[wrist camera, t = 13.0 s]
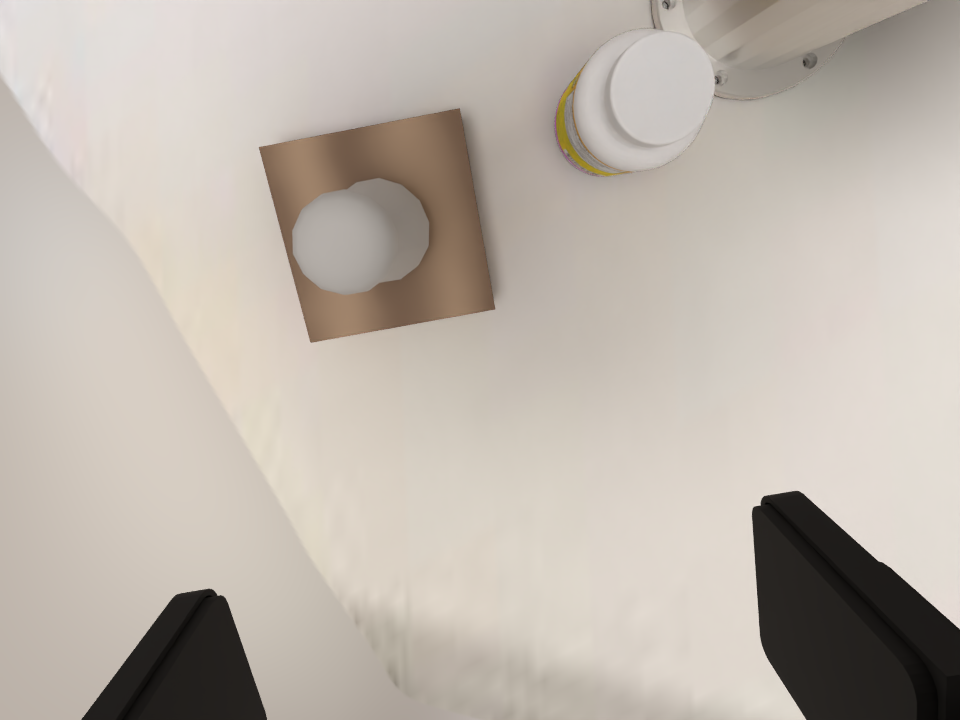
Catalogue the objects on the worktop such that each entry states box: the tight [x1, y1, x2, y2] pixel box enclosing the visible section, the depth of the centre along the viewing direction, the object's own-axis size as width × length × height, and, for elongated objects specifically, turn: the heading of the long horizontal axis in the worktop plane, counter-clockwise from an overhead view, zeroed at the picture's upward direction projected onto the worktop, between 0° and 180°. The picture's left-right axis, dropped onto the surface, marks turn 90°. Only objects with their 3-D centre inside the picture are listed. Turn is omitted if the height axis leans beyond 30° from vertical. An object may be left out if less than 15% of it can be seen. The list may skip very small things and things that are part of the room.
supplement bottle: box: [554, 28, 715, 176], centre depth 32 cm, size 7×7×13 cm
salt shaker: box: [292, 178, 429, 295], centre depth 30 cm, size 6×6×13 cm
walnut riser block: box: [259, 108, 495, 343], centre depth 38 cm, size 12×12×4 cm
